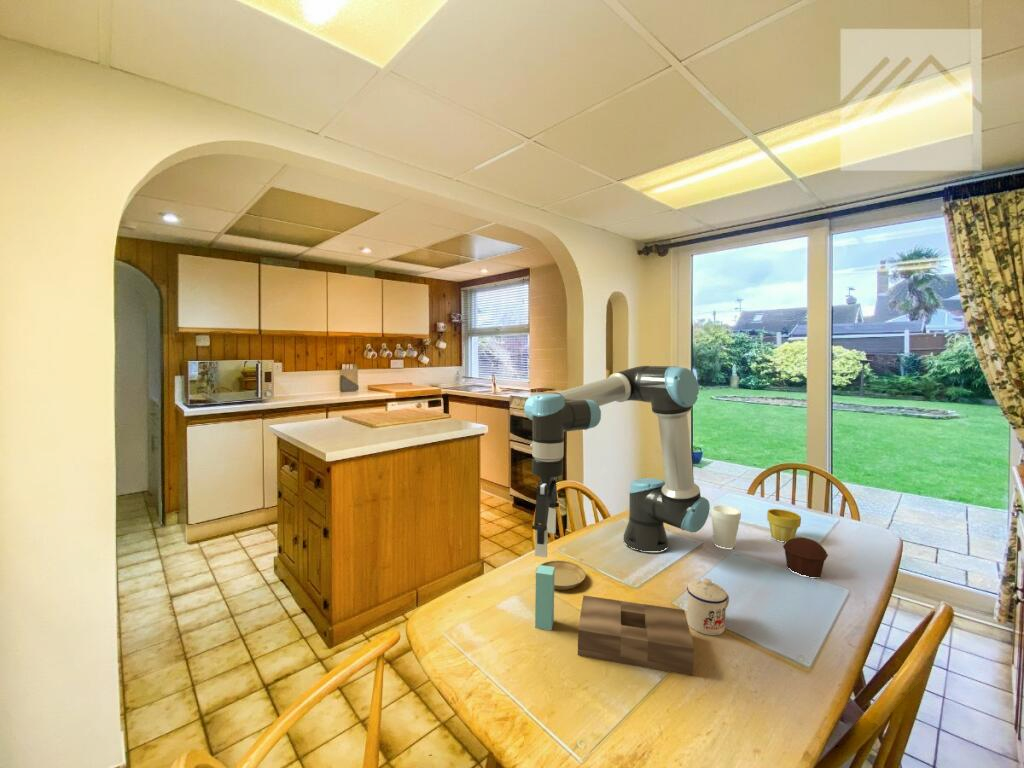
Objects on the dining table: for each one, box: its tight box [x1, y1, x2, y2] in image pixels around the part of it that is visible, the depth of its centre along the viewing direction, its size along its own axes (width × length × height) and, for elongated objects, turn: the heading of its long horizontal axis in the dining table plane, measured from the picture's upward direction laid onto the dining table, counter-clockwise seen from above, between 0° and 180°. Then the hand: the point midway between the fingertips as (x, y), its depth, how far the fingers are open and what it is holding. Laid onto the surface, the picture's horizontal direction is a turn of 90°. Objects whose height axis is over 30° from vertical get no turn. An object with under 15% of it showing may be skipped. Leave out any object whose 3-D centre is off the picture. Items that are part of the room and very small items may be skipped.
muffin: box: [782, 537, 829, 578], centre depth 133 cm, size 12×11×10 cm
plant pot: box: [766, 508, 802, 542], centre depth 156 cm, size 10×10×10 cm
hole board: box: [577, 595, 695, 677], centre depth 99 cm, size 14×24×6 cm, turn 76°
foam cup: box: [710, 504, 742, 548], centre depth 151 cm, size 10×9×13 cm
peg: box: [534, 564, 555, 631], centre depth 106 cm, size 4×4×14 cm
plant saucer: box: [535, 559, 587, 591], centre depth 127 cm, size 15×15×3 cm
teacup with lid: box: [686, 577, 730, 636], centre depth 107 cm, size 12×9×12 cm
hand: (545, 543), depth 105 cm, fingers open, 13 cm apart
